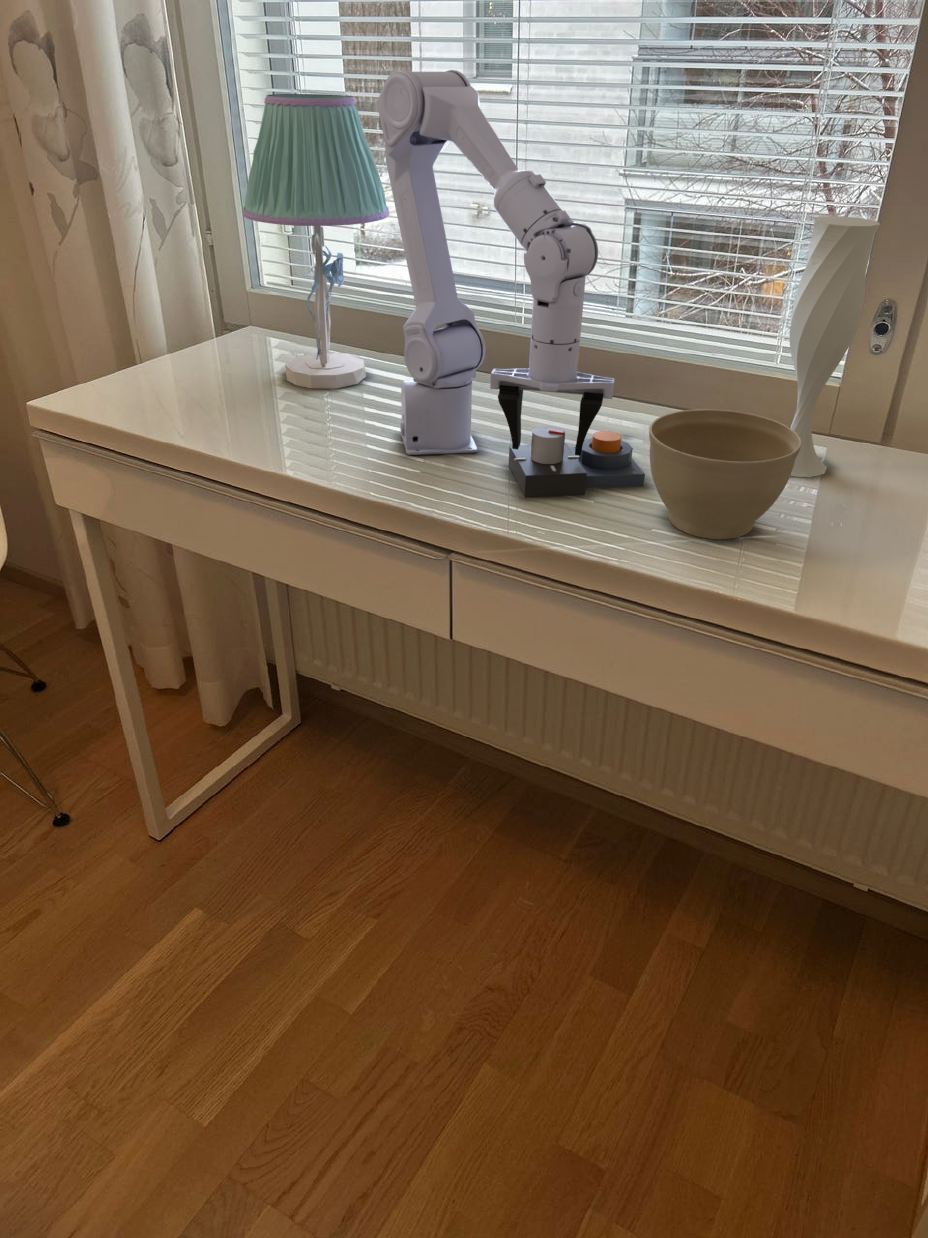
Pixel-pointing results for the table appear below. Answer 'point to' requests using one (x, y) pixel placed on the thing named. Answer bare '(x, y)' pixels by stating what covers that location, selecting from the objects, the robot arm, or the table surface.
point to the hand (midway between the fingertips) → (547, 449)
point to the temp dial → (547, 445)
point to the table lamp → (316, 203)
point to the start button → (606, 442)
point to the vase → (826, 317)
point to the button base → (609, 467)
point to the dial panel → (547, 474)
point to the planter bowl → (720, 468)
